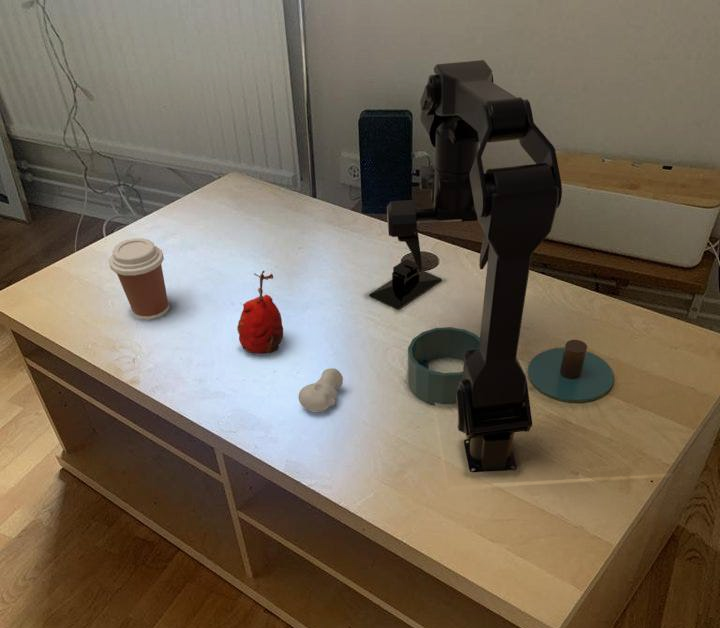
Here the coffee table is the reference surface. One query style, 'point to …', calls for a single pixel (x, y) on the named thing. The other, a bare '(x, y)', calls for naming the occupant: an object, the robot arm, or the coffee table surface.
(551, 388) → the tin lid
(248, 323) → the red fruit with stem
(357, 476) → the coffee table surface
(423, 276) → the build plate
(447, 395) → the tin
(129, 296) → the coffee cup
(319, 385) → the pale two-lobed sculpture
